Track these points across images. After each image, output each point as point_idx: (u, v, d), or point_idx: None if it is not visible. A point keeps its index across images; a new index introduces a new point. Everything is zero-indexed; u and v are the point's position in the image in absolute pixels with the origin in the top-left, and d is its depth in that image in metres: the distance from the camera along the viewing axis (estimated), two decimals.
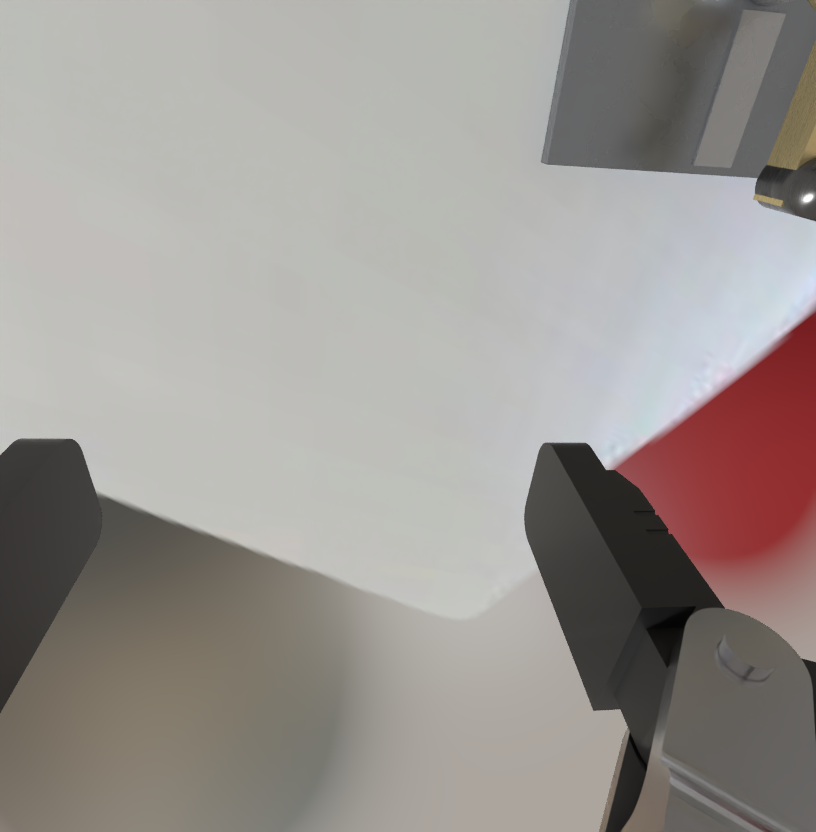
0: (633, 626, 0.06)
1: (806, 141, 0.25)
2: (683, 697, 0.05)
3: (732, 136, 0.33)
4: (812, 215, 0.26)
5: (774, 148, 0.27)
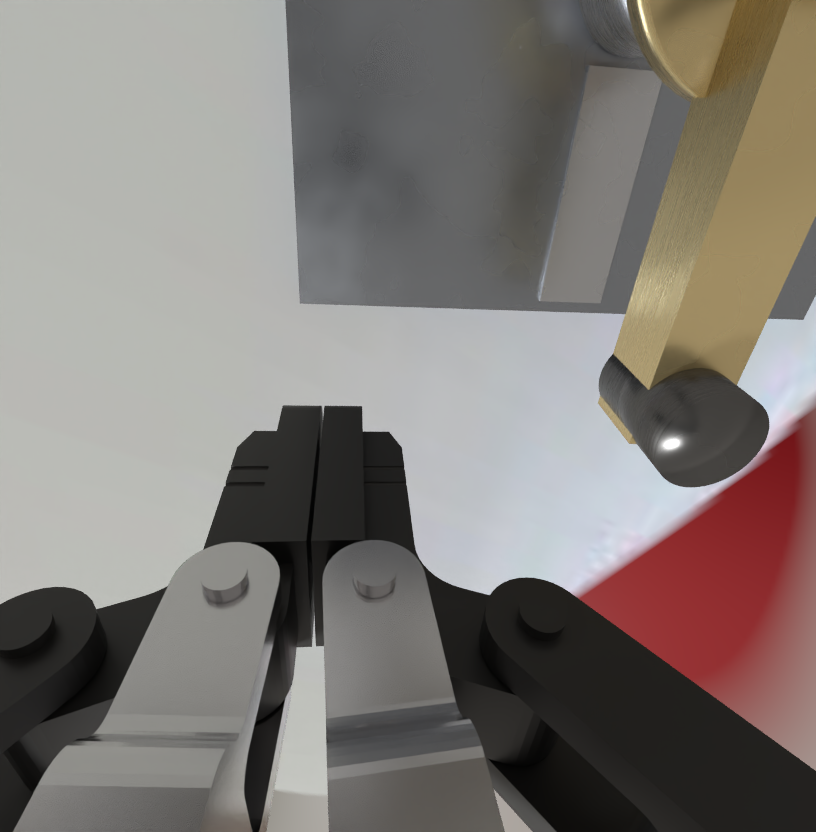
0: (316, 560, 0.07)
1: (663, 343, 0.13)
2: (334, 651, 0.05)
3: (596, 260, 0.20)
4: (678, 479, 0.13)
5: (622, 330, 0.15)
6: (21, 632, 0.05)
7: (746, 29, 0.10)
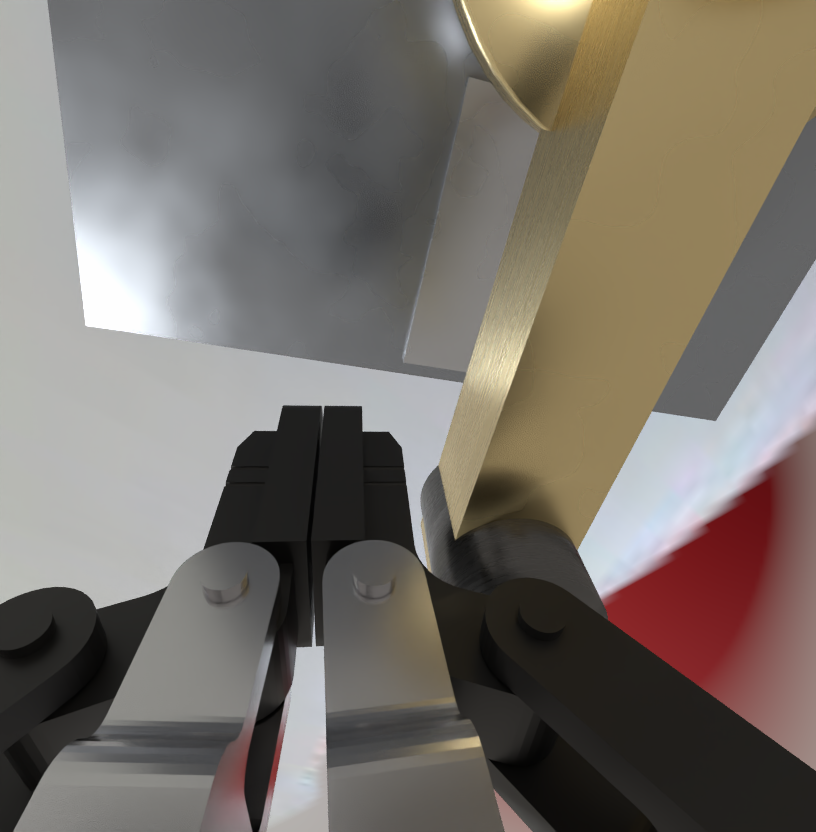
0: (316, 560, 0.07)
1: (474, 480, 0.09)
2: (334, 651, 0.05)
3: (474, 322, 0.16)
4: None
5: (448, 438, 0.11)
6: (20, 631, 0.05)
7: (602, 27, 0.06)
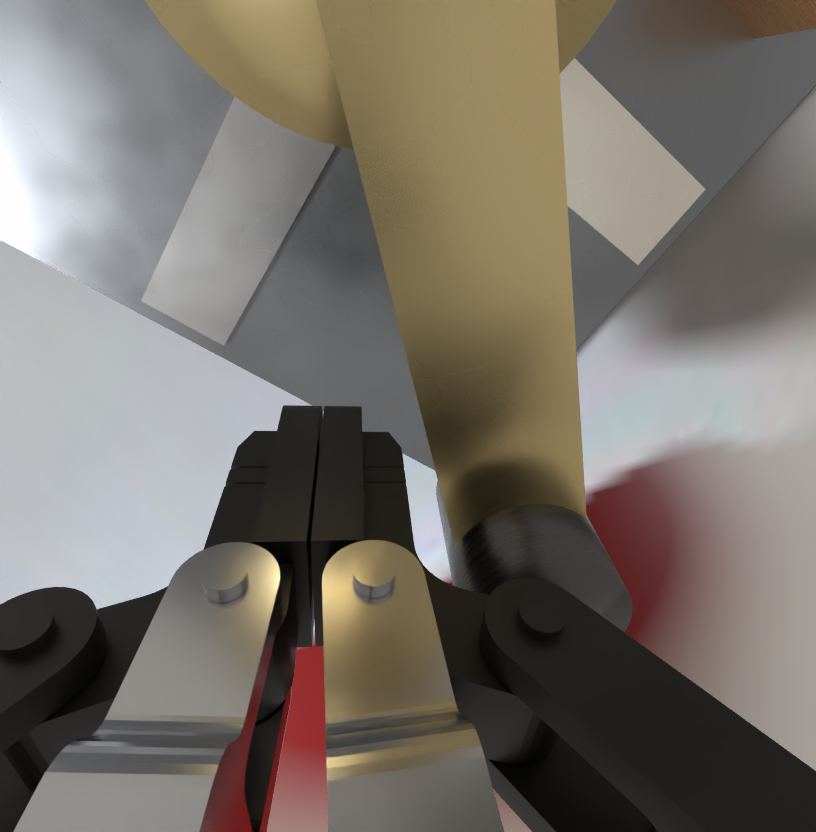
0: (315, 560, 0.07)
1: None
2: (334, 651, 0.05)
3: (228, 287, 0.15)
4: None
5: None
6: (21, 631, 0.05)
7: None
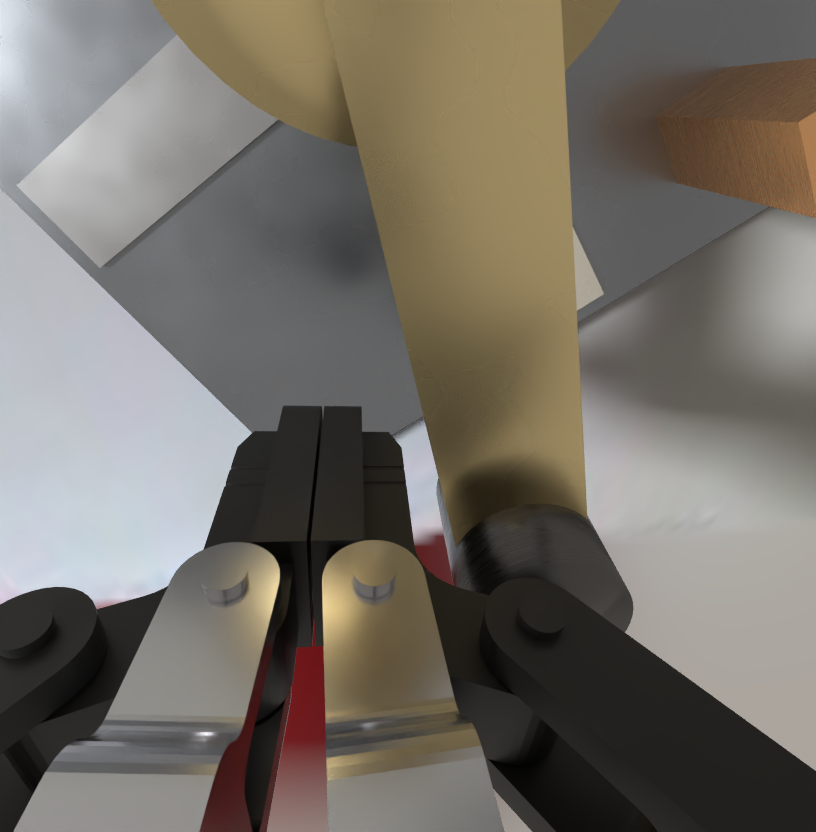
0: (315, 560, 0.07)
1: None
2: (334, 651, 0.05)
3: (124, 209, 0.14)
4: None
5: None
6: (21, 632, 0.05)
7: None
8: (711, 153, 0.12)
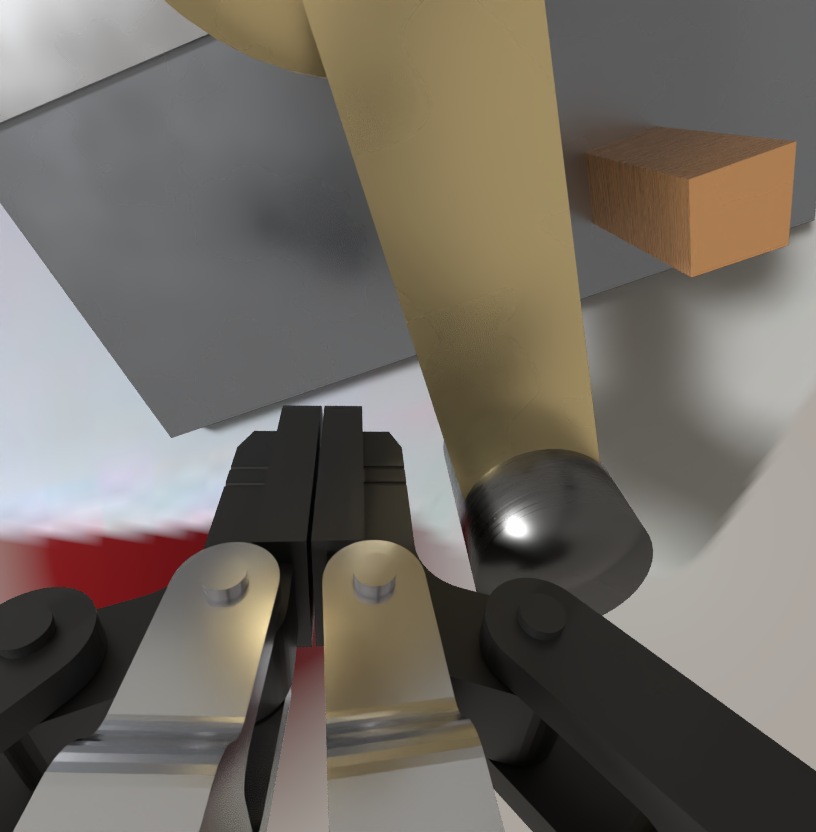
0: (315, 560, 0.07)
1: None
2: (334, 651, 0.05)
3: (10, 78, 0.12)
4: None
5: None
6: (21, 631, 0.05)
7: None
8: (621, 198, 0.13)
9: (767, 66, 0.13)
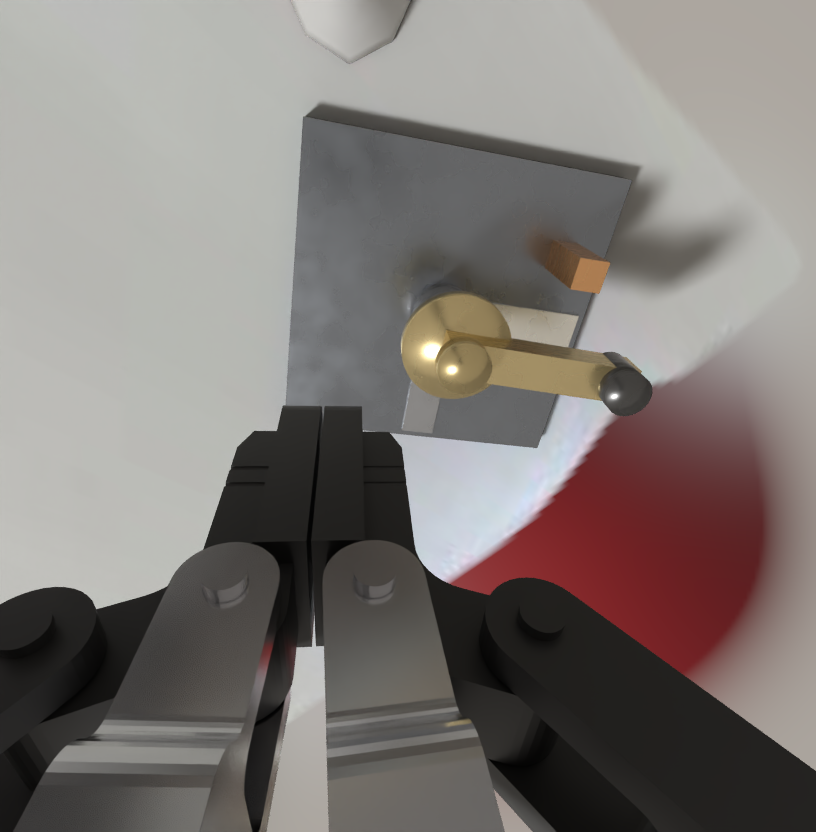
0: (316, 560, 0.07)
1: None
2: (334, 651, 0.05)
3: (428, 414, 0.43)
4: (642, 405, 0.32)
5: None
6: (21, 632, 0.05)
7: None
8: None
9: (560, 194, 0.35)
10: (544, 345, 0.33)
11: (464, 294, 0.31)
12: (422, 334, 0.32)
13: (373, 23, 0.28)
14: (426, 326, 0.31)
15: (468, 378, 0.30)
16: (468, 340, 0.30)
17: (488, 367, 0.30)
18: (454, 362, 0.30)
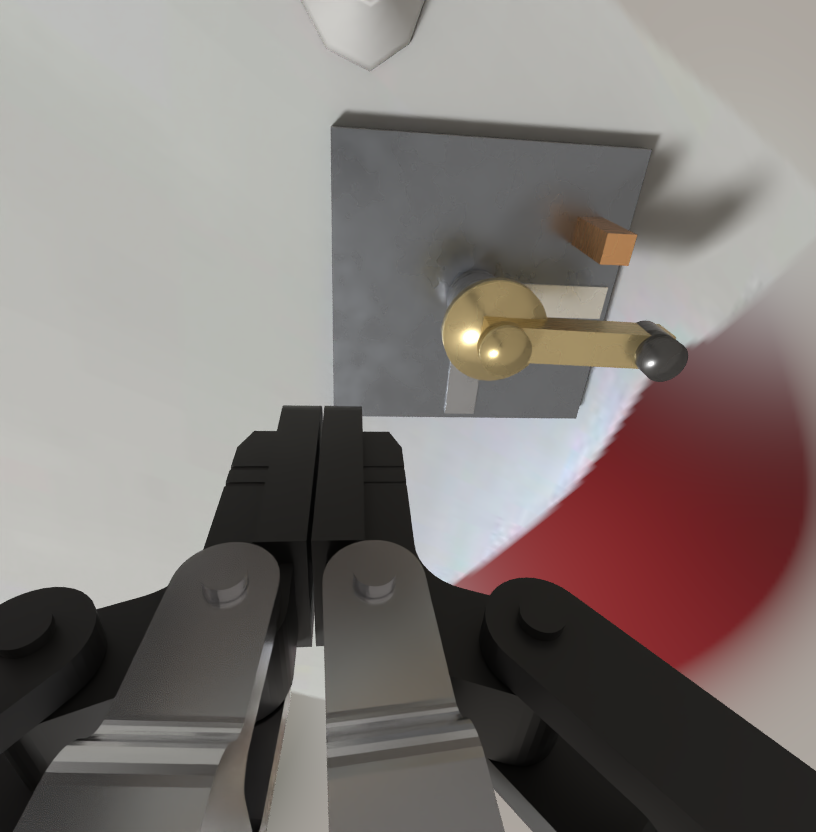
0: (316, 560, 0.07)
1: None
2: (334, 651, 0.05)
3: (468, 396, 0.45)
4: (679, 369, 0.33)
5: None
6: (22, 631, 0.05)
7: None
8: None
9: (581, 171, 0.36)
10: (579, 321, 0.34)
11: (499, 281, 0.32)
12: (461, 322, 0.33)
13: (391, 31, 0.29)
14: (465, 314, 0.33)
15: (510, 360, 0.32)
16: (507, 324, 0.31)
17: (528, 348, 0.32)
18: (496, 346, 0.31)
